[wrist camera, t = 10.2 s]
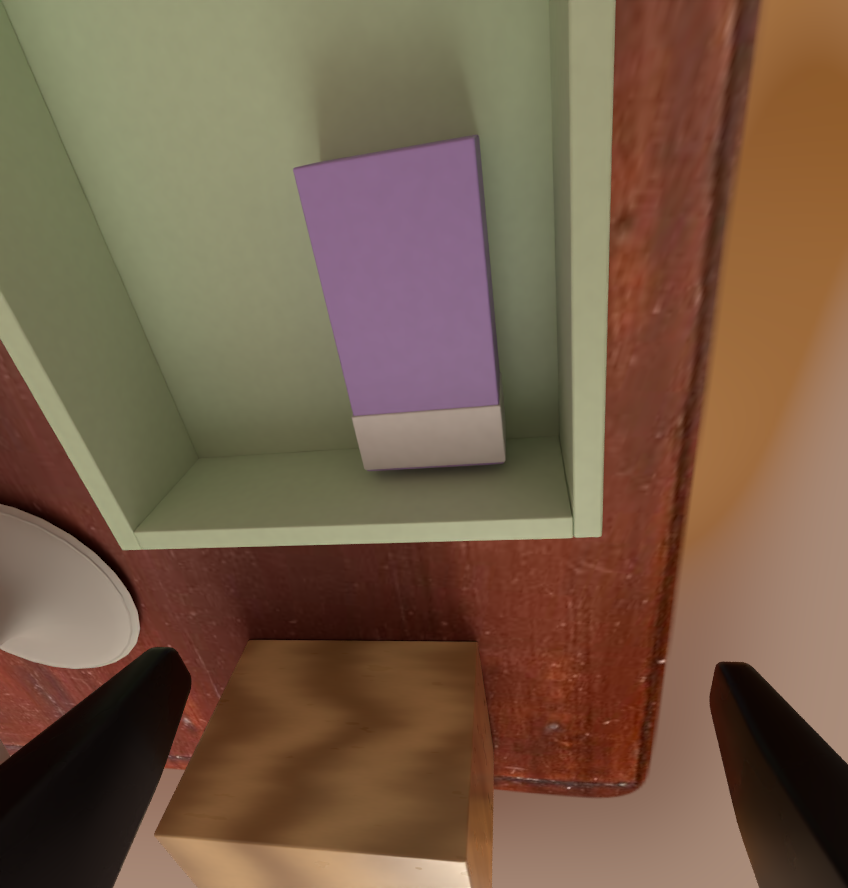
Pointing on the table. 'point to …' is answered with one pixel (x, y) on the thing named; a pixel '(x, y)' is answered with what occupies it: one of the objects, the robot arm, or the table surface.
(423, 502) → the tray
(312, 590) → the table surface
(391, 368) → the chocolate bar
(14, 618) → the chalice
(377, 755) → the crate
